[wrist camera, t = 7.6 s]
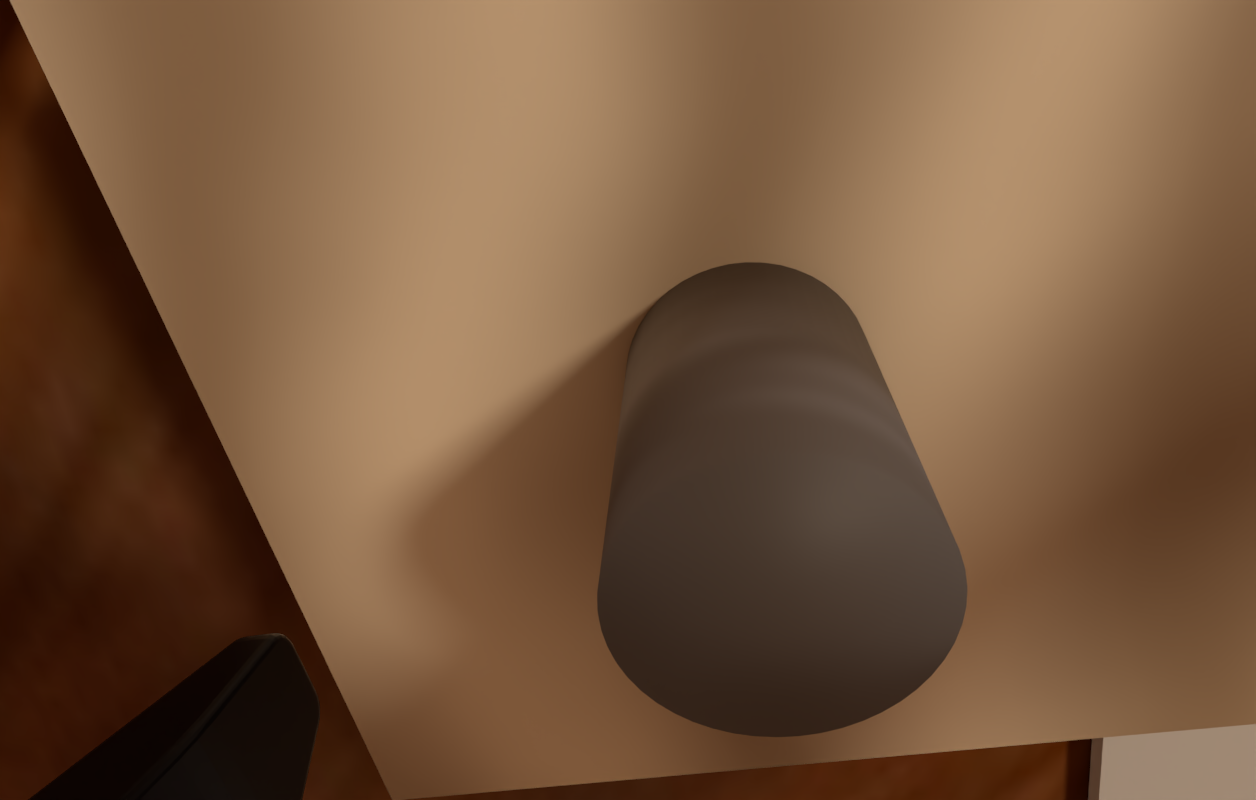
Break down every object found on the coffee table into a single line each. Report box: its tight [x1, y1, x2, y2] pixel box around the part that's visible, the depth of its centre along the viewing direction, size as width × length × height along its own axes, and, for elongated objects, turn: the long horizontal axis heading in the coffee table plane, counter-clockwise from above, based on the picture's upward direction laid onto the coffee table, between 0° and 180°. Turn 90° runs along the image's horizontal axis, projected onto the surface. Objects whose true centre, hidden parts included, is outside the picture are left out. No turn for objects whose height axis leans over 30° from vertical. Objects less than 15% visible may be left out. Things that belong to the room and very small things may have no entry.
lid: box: [10, 0, 1256, 800], centre depth 10 cm, size 15×15×5 cm
